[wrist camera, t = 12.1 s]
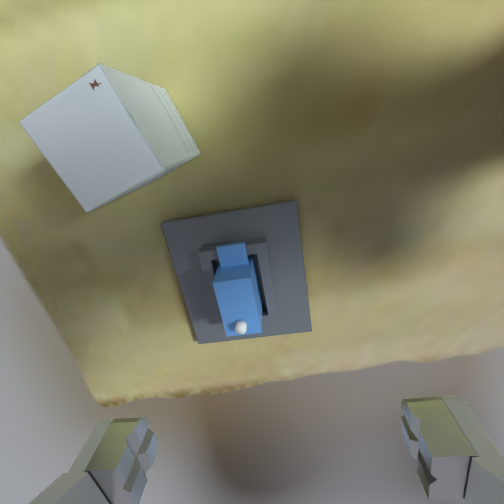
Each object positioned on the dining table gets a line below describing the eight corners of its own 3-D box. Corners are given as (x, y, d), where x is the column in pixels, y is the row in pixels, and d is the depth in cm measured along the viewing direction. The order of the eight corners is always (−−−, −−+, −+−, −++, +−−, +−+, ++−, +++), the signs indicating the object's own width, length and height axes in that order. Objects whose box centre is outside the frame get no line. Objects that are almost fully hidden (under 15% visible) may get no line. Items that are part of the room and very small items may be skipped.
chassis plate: (295, 199, 33) (298, 205, 30) (310, 326, 39) (314, 340, 37) (163, 221, 34) (154, 229, 32) (199, 339, 41) (195, 353, 39)
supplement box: (109, 123, 30) (12, 118, 19) (166, 87, 29) (99, 57, 17) (148, 185, 33) (83, 215, 21) (203, 155, 31) (166, 170, 20)
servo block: (249, 235, 34) (245, 259, 27) (265, 318, 38) (265, 356, 32) (216, 240, 34) (204, 265, 28) (236, 322, 39) (230, 360, 32)
